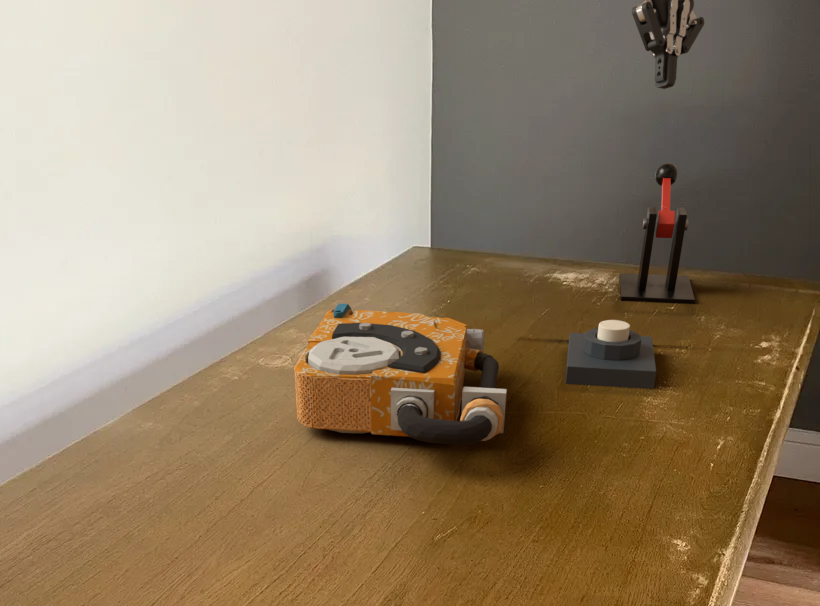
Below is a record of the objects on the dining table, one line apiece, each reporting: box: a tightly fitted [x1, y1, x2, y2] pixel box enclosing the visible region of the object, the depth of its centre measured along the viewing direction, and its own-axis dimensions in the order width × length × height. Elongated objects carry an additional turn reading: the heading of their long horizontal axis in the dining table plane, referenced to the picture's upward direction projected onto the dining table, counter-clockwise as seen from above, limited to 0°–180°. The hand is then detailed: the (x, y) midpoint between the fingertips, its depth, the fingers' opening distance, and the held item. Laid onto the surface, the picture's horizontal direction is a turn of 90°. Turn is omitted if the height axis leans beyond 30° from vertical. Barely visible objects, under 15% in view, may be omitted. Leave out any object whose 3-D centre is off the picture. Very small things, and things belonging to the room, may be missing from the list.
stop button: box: [597, 319, 631, 342], centre depth 113 cm, size 4×4×2 cm
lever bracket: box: [618, 206, 696, 305], centre depth 136 cm, size 12×10×12 cm
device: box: [293, 302, 508, 446], centre depth 103 cm, size 23×8×30 cm
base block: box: [565, 327, 657, 390], centre depth 114 cm, size 12×10×4 cm
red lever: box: [654, 162, 679, 239], centre depth 136 cm, size 14×3×3 cm, turn 169°
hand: (665, 86), depth 134 cm, fingers closed
